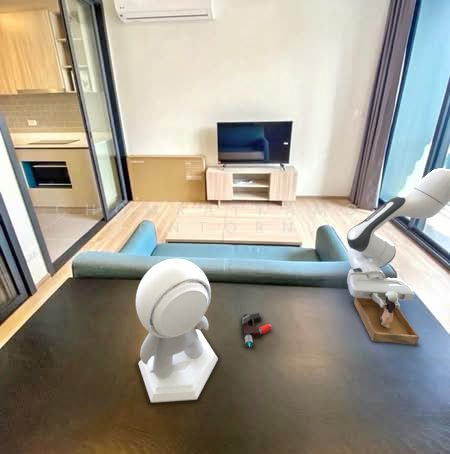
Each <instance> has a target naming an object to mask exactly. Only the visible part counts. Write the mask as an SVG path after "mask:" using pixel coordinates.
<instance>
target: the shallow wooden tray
mask: <svg viewBox="0 0 450 454" xmlns="http://www.w3.org/2000/svg"><path fill="white" fill-rule="evenodd" d="M382 300H384V299H382ZM353 305H354V307H355V308H356V311H357V313H358V314H359V317H360V319H361V321H362V322H363V324H364V327H365V329H366V331H367V333H368V335H369V337H370V339H371V341H372V342H380V343H381V342H382V343H394V344H404V345H405V344H406V345H418V342H419V340H420V336H419V334H418V333H417V332H416V330H415V329H414V327H413V326H412V324H411V323H410V322H409V320H408V319H407V317H406V316H405V314H404V313H403V311H402V310H401V308H399V309H395V308H394V309H393V320H392V322H391V323H389V324H390V326H391V327H390V328H386V327H384V326H383V325H381V322H383V321H382V320H381V319H380V317H381V316H382V315H383V313H384V308H381V306H380V305H379V304H378V303H377V302H375V301H374V300H373V299H370V298H355V297H354V301H353Z"/></svg>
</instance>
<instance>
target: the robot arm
mask: <svg viewBox="0 0 450 454" xmlns="http://www.w3.org/2000/svg"><path fill="white" fill-rule="evenodd" d="M448 203H450V169H448V168H447V169H446V168H437V169H436V168H435V169H433V170H432V171H430V172H429V173H428V174H426V175H425V176H424V177H423V178H422V179H421V180H419V181H418V182H417V183H416V184H415V185H414V186H413V187H412V188H411V189H409V191H408V192H406V193H405V194H403V195H400V196H397V195H396V196H394V197H392V198H389V200H387V201H386V202H385V203H384V204H382V205H381V206H380V207H379V208H377V209H376V210H375V211H374V212H372V213H371V214H369V215H368V216H367V217H366V218H365V219H364V220H362V221H361V222H360V223H358V224H355V225H354V226H352V228H350V229H349V230H348V231H347V235H346V242H347V244H348V246H349V249H348V250H347V253H346V255H347V261H348V263H349V265H350V267H351V268H350V269H349V270H348V274H347V279H346V283H347V288H348V289H347V290H348V292H349V294H350V296H352V297H353V298H354V299H355V298H370V299H373V300H374V301H375V302H377V303H378V304H379V305H380V306H381V308H386V306H387V303H386V301H385V300H386V297H387V296H386V293H388V292H390V291H393V292H396V293H397V294H398V298H397V301H396V302H394V308H395V309H401V304H400V302H399V301H401V302H412V301H413V299H414V297H415V292H414V290H413V289H412V288H411V287H410V286H409V284H407V283H406V282H405V281H403V280H402V279H400V278H395V277H393V278H390V277H387V276H386V274H385V273H384V272H383V270H382V268H383V267H385V266H387V265H388V264H390V263H392V261H393V260H394V259H395V257H396V253H397V251H396V246H395V244H394V243H392V242H391V241H389V240H388V239H387V238H385V237H383V236H381V235H380V234H378V233H377V230H379V229H380V228H382V227H383V226H384V225H385V224H386V223H388V222H389V221H391V220H392V219H394V218H398V217H407V218H411V219H418V220H425V219H430V218H432V217H435V216H436V215H437V214H439V213H440V211H442V210H443V209H444V208H445V206H447V204H448ZM382 299H384V300H382Z"/></svg>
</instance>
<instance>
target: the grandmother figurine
mask: <svg viewBox="0 0 450 454" xmlns="http://www.w3.org/2000/svg"><path fill="white" fill-rule="evenodd" d="M386 296H387V297H386V300H385V301H386V303H387V306H386V308H384V313H383V315H382V316H381V317H380V319H381V320H382V321H383V322H381V325H383V326H384V327H386V328H390V327H391V326H390V324H389V323H391V322H392V320H393V309H394V302H396V301H397V298H398V294H397V293H396V292H393V291H390V292H388V293H386Z"/></svg>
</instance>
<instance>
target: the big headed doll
mask: <svg viewBox="0 0 450 454" xmlns="http://www.w3.org/2000/svg"><path fill="white" fill-rule="evenodd" d="M211 289H212V288H211V285H210V282H209V279H208V277H207V276H206V274H205V272H204V271H203V270H202V269H201V268H200V267H199V266H198V265H196V263H194V262H191V261H190V260H187V259H183V258H169V259H165V260H162V261H160V262H158V263H156V264H155V265H153V266H152V267H151V268H150V269H149V270H148V271H147V272H146V273H145V274H144V275H143V276H142V278H141V280H140V282H139V284H138V287H137V290H136V295H135V309H136V314H137V317H138V319H139V321H140V324H142V326H143V328H144V329H145V330H146V331H147V332H148V334H147V335H146V337H145V339H144V340H143V342H142V344H141V347H140V352H139V357H140V360H139V361H138V363H137V364H138V366H139V370H140V373H141V376H142V381H143V382H144V386H145V389H146V392H147V395H148V397H149V400H150V403H151V404H152V403H153V404H154V403H169V402H181V401H183V402H184V401H196V400H198V398H199V396H200V395H201V392H202V391H203V389H204V387H205V385H206V383H207V381H208V379H209V378H210V375H211V373H212V372H213V370H214V369H215V366H216V364H217V363H218V360H219V358H218V356H217V355H216V352H215V351H214V349H213V348H212V347H211V345H210V344H209V342H208V341H207V339H206V337H205V336H204V334H203V332H202V331H201V330H202V329H204V330H205V331H206V332H207V331H209V321H208V319H207V317H206V316H205V314H206V313H207V310H208V309H209V306H210V303H211V300H212V290H211ZM196 328H197V329H196Z"/></svg>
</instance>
